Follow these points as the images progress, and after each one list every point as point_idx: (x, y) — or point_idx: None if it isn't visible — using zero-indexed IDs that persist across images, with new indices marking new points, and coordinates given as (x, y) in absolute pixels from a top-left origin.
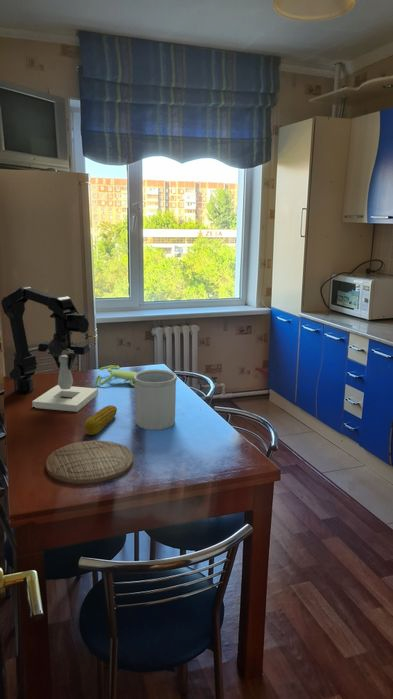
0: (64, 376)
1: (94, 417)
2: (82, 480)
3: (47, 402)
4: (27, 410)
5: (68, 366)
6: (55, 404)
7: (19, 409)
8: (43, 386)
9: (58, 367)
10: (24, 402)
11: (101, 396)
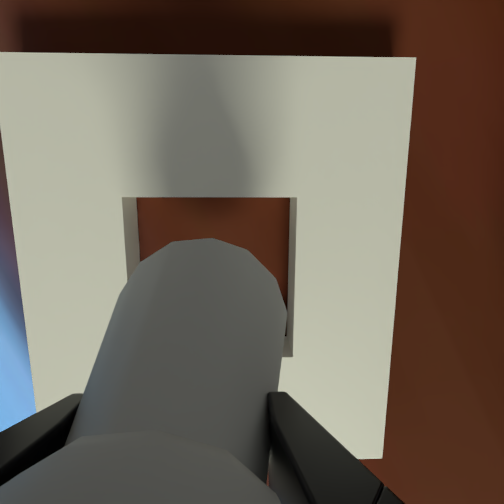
0: (157, 284)
1: None
2: None
3: (275, 61)
4: (406, 2)
5: (48, 427)
6: (198, 56)
7: (474, 8)
8: (491, 478)
9: (290, 402)
10: (496, 161)
11: (22, 405)
